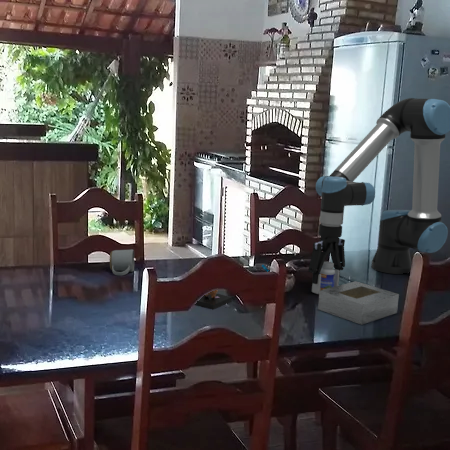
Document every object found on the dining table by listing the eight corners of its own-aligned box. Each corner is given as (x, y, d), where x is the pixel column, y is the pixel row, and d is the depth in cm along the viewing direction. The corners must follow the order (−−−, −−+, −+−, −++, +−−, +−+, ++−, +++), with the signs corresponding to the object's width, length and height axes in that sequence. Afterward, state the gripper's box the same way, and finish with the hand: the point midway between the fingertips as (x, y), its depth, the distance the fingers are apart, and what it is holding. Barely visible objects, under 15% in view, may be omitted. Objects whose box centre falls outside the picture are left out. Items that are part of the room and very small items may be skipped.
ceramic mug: (111, 267, 229) (111, 246, 228) (134, 268, 230) (134, 247, 228) (107, 276, 219) (108, 254, 217) (132, 276, 219) (132, 255, 218)
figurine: (231, 301, 198) (233, 264, 196) (213, 309, 190) (215, 270, 187) (205, 295, 203) (206, 258, 201) (185, 302, 195) (187, 264, 193)
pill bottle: (317, 292, 212) (319, 264, 210) (317, 288, 217) (319, 260, 215) (333, 294, 211) (336, 265, 209) (333, 289, 216) (335, 261, 214)
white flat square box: (354, 299, 207) (355, 281, 205) (396, 312, 195) (398, 294, 194) (318, 309, 195) (319, 290, 193) (361, 324, 183) (363, 304, 182)
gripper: (342, 219, 219) (336, 282, 224) (300, 225, 205) (294, 292, 209) (360, 223, 214) (354, 288, 218) (318, 229, 199) (312, 299, 204)
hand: (325, 290), depth 214 cm, fingers open, 9 cm apart
